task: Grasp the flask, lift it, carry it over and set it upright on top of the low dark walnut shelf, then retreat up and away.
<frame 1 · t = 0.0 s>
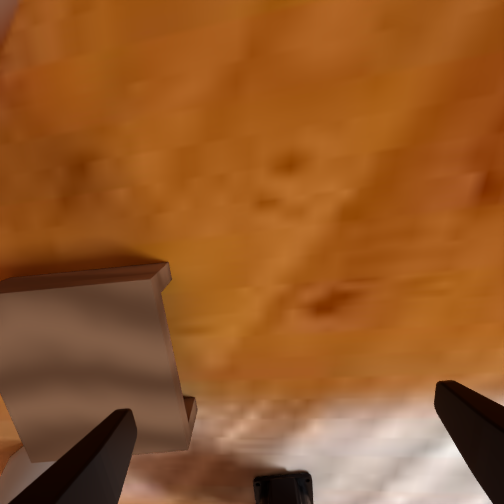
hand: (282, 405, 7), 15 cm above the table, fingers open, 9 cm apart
walnut shelf: (111, 349, 24), on the table
flask: (46, 464, 28), on the table
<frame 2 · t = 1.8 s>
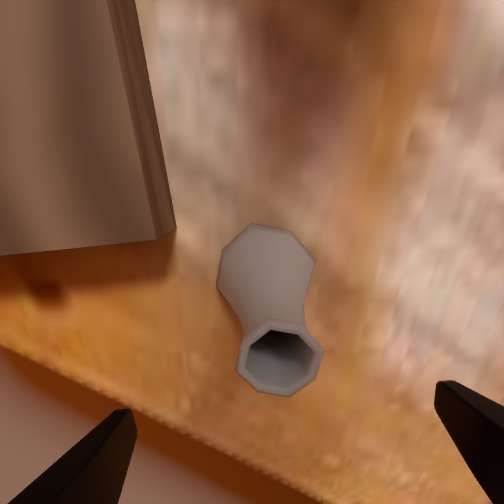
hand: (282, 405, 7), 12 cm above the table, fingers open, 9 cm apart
walnut shelf: (35, 134, 16), on the table
flask: (264, 270, 19), on the table
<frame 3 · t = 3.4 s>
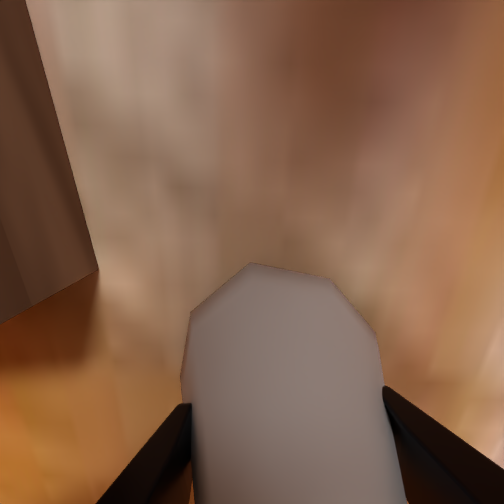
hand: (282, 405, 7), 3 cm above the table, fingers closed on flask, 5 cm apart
flask: (274, 347, 10), on the table, touching gripper
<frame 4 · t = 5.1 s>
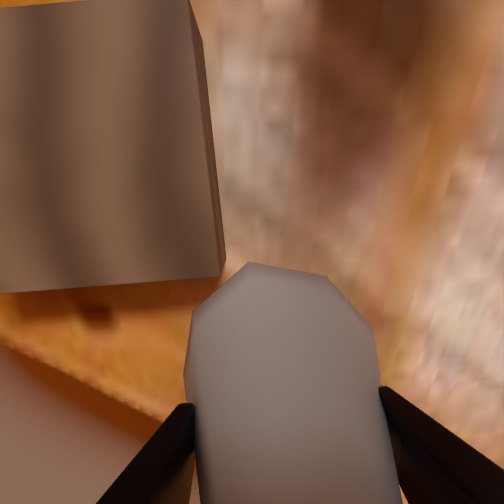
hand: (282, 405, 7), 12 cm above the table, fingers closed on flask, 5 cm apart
walnut shelf: (100, 170, 17), on the table
flask: (274, 344, 10), point 9 cm above the table, touching gripper
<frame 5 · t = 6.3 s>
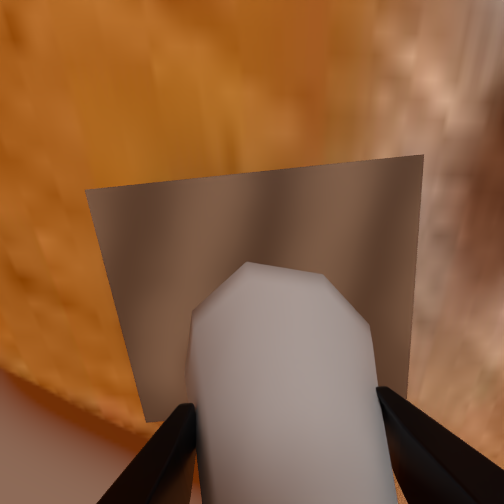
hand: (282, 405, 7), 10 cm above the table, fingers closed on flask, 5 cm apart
walnut shelf: (261, 280, 17), on the table
flask: (273, 342, 10), point 7 cm above the table, touching gripper
when the fingers open (8 cm above the table, at t = 7.1 s): flask stays where it is, resting on walnut shelf.
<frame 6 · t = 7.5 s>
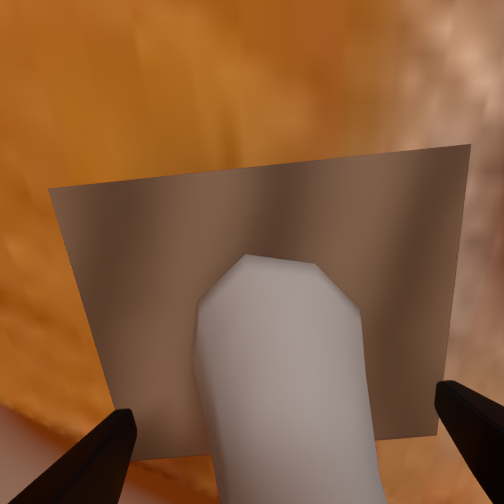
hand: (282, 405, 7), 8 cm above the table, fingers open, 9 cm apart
walnut shelf: (265, 293, 15), on the table
flask: (272, 328, 11), point 4 cm above the table, touching walnut shelf
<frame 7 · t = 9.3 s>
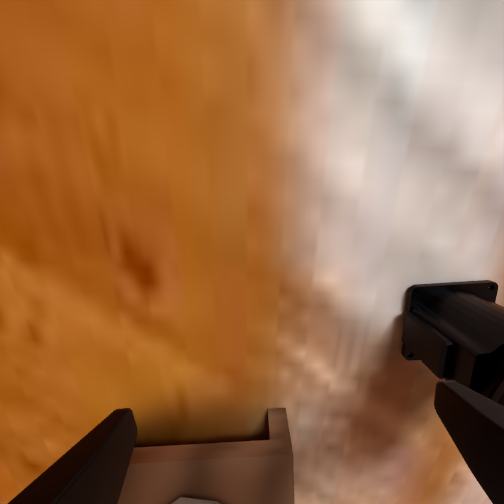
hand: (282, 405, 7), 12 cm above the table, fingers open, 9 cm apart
walnut shelf: (205, 470, 24), on the table
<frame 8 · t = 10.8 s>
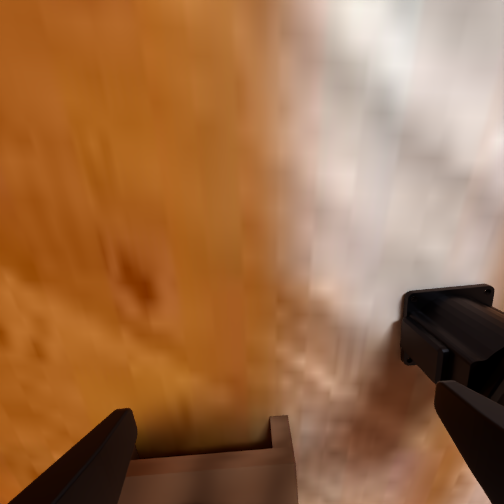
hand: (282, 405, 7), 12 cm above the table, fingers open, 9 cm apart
walnut shelf: (210, 478, 25), on the table
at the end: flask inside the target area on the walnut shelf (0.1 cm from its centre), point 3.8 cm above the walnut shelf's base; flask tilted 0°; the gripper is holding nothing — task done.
